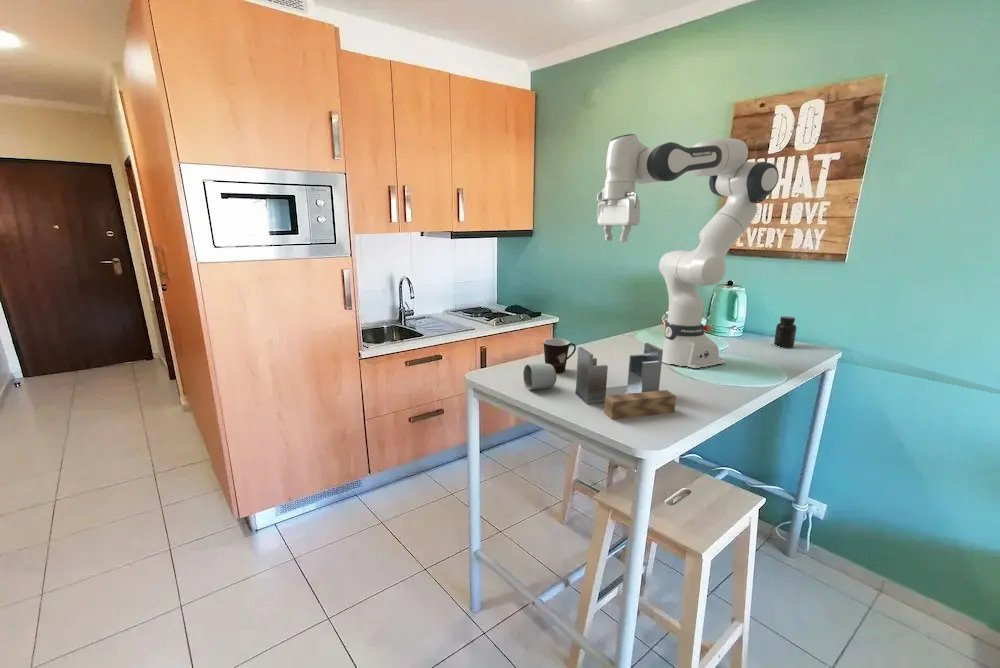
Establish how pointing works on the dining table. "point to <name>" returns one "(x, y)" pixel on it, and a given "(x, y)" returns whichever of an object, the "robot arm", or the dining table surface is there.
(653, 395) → the rail
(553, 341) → the coffee mug
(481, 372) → the dining table surface
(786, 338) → the supplement bottle
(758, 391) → the dining table surface
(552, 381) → the ceramic mug
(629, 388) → the bracket pair
